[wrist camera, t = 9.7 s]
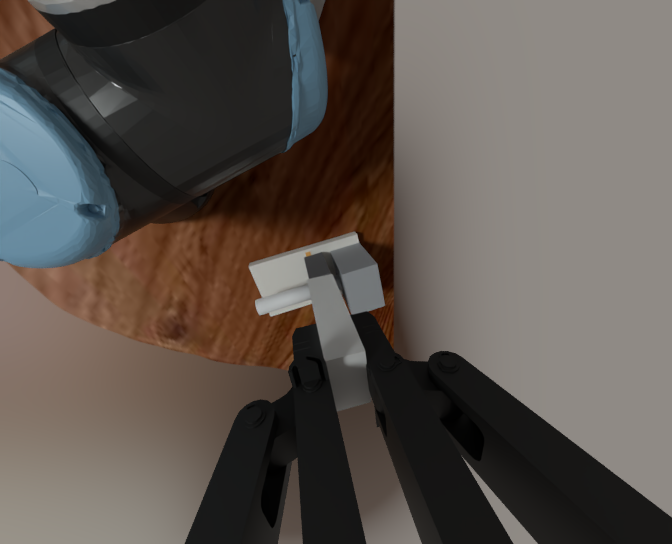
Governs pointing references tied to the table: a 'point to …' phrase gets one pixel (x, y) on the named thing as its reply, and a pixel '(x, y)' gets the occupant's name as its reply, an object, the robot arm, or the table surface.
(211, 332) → the table surface
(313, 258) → the collar
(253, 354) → the table surface
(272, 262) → the rod stand
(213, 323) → the table surface
